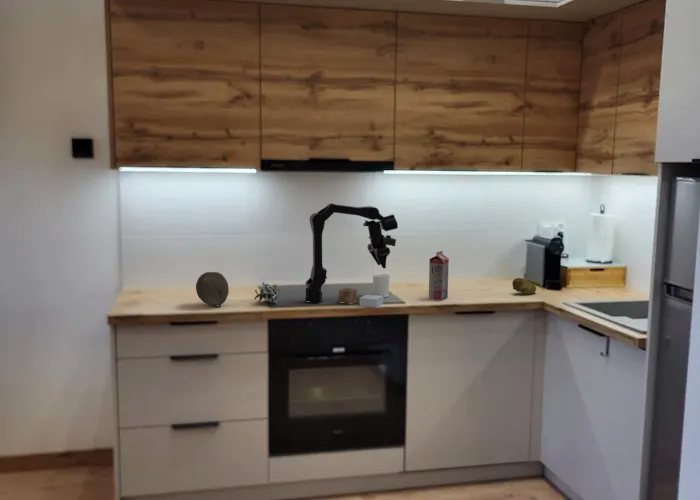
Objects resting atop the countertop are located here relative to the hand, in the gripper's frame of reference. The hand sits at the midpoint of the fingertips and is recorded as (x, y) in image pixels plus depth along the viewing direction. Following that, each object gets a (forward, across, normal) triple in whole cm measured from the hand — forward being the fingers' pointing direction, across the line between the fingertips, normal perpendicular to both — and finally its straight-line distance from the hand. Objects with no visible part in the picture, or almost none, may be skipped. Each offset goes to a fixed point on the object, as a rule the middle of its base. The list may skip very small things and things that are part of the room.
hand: (381, 266), depth 303 cm
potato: (+29, -1, -66) cm, 72 cm away
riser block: (+13, -12, +11) cm, 21 cm away
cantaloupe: (-1, -2, +78) cm, 78 cm away
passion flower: (+4, -2, +55) cm, 55 cm away
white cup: (+15, +6, +2) cm, 16 cm away
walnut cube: (+11, -6, +20) cm, 23 cm away
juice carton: (+20, -4, -22) cm, 30 cm away
